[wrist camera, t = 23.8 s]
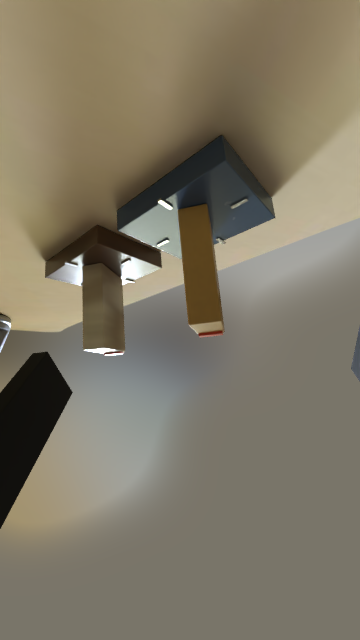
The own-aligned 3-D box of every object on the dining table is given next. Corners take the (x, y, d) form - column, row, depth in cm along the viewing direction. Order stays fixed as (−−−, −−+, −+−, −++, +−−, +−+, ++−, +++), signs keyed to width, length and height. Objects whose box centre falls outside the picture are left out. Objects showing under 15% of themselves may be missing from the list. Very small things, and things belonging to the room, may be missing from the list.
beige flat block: (82, 266, 29) (82, 352, 27) (101, 262, 29) (104, 350, 27) (105, 282, 35) (107, 355, 33) (122, 279, 34) (125, 353, 32)
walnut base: (109, 279, 39) (109, 293, 39) (42, 261, 32) (41, 278, 31) (162, 253, 33) (164, 269, 32) (94, 223, 25) (94, 243, 25)
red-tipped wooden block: (177, 209, 21) (188, 328, 19) (206, 202, 21) (222, 324, 18) (188, 241, 26) (198, 337, 24) (212, 237, 26) (225, 335, 24)
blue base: (181, 244, 31) (183, 261, 30) (113, 209, 23) (113, 230, 23) (273, 200, 24) (277, 221, 24) (218, 130, 17) (223, 158, 16)
